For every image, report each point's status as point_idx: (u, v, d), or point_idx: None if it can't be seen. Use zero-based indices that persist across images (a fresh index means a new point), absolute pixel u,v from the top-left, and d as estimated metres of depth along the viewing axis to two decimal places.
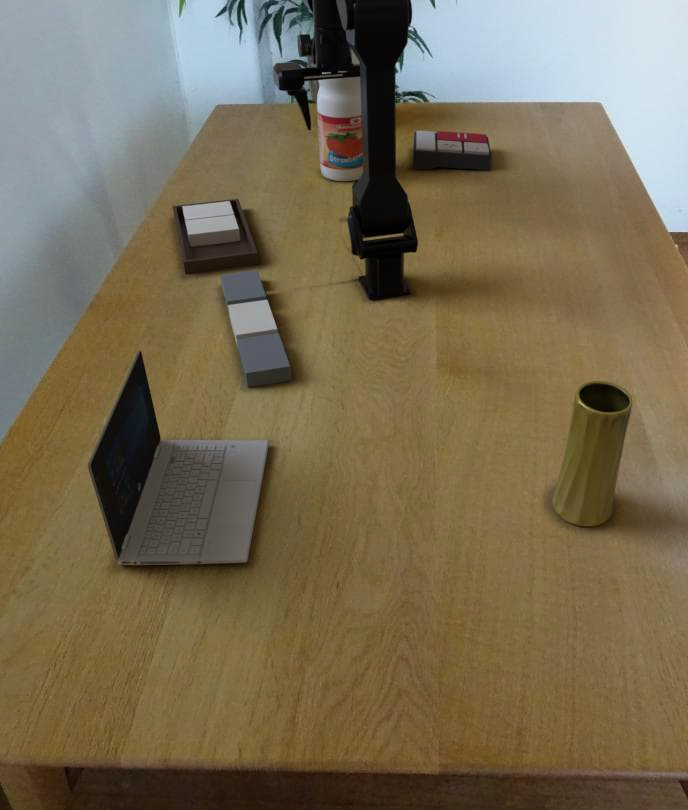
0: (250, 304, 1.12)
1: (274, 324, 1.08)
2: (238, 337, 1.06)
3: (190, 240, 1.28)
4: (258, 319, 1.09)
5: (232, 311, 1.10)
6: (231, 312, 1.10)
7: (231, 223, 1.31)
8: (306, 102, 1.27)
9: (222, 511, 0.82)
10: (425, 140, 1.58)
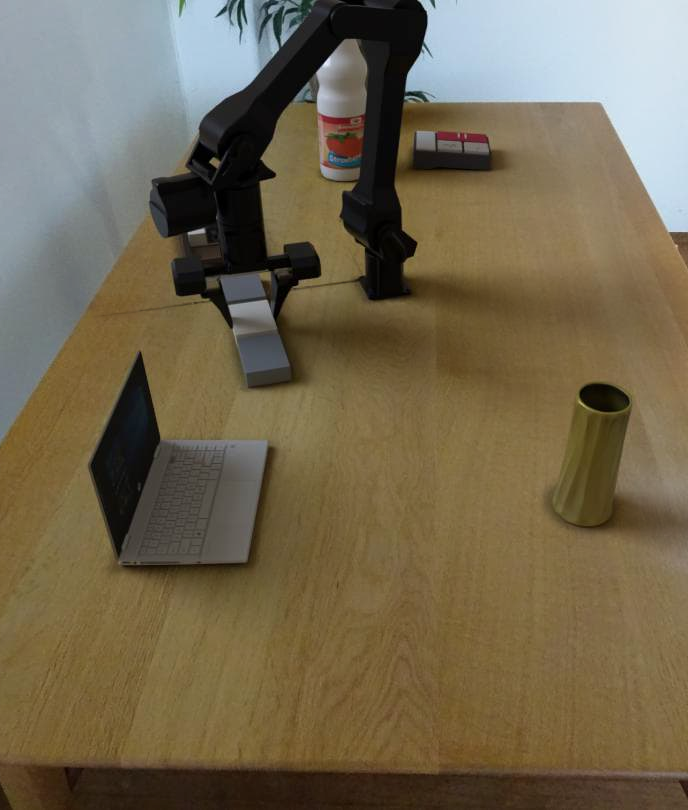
0: (250, 304, 1.12)
1: (274, 324, 1.08)
2: (238, 337, 1.06)
3: (190, 240, 1.28)
4: (258, 319, 1.09)
5: (232, 311, 1.10)
6: (231, 312, 1.10)
7: None
8: (224, 303, 1.04)
9: (222, 511, 0.82)
10: (425, 140, 1.59)
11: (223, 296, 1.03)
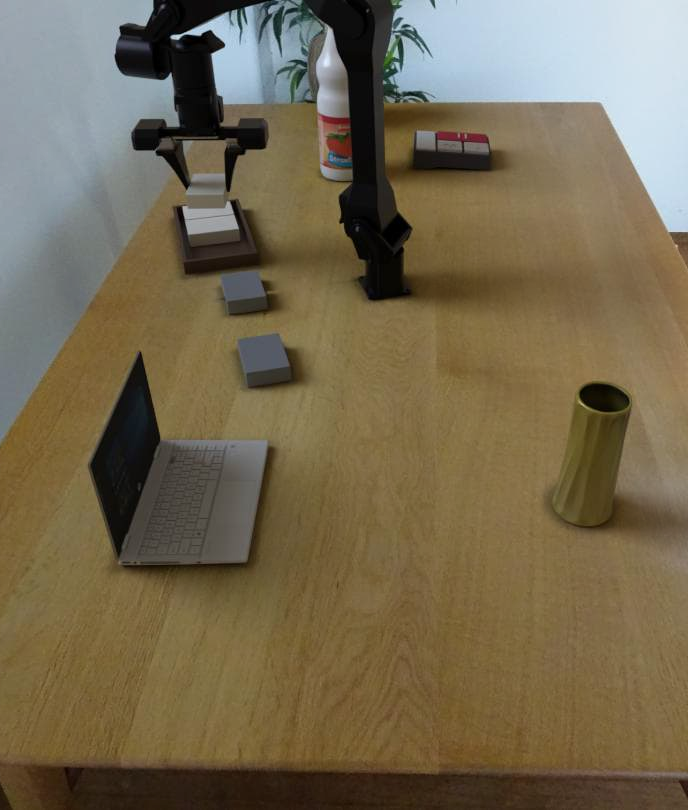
0: (213, 175, 1.23)
1: (223, 191, 1.18)
2: (187, 197, 1.17)
3: (190, 240, 1.28)
4: (211, 186, 1.19)
5: (194, 178, 1.22)
6: (193, 179, 1.21)
7: (231, 223, 1.31)
8: (177, 164, 1.16)
9: (222, 511, 0.82)
10: (425, 140, 1.59)
11: (175, 156, 1.14)
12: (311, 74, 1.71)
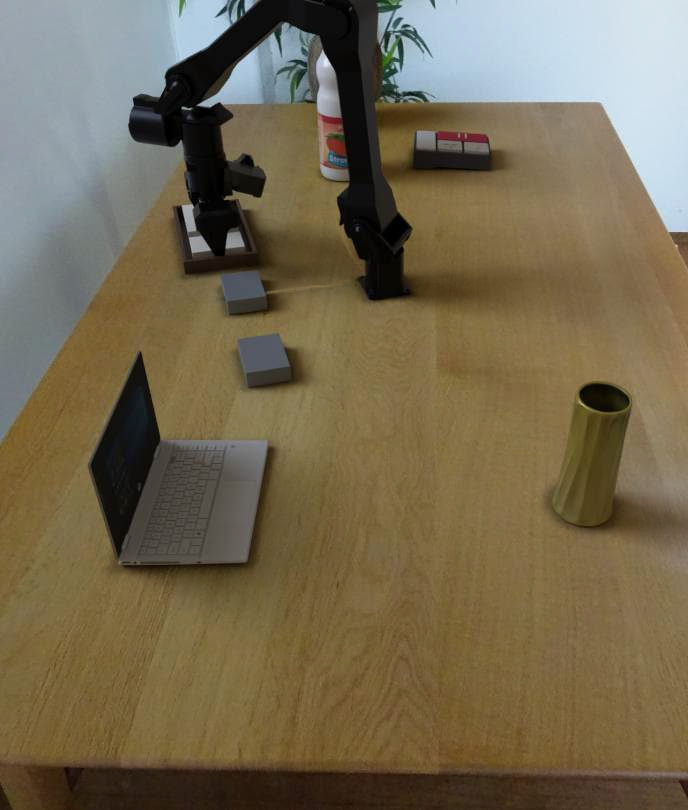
0: (238, 240, 1.26)
1: (200, 251, 1.23)
2: (189, 240, 1.27)
3: (189, 237, 1.29)
4: None
5: (228, 233, 1.28)
6: None
7: None
8: None
9: (222, 511, 0.82)
10: (425, 140, 1.59)
11: (190, 200, 1.25)
12: (311, 74, 1.71)
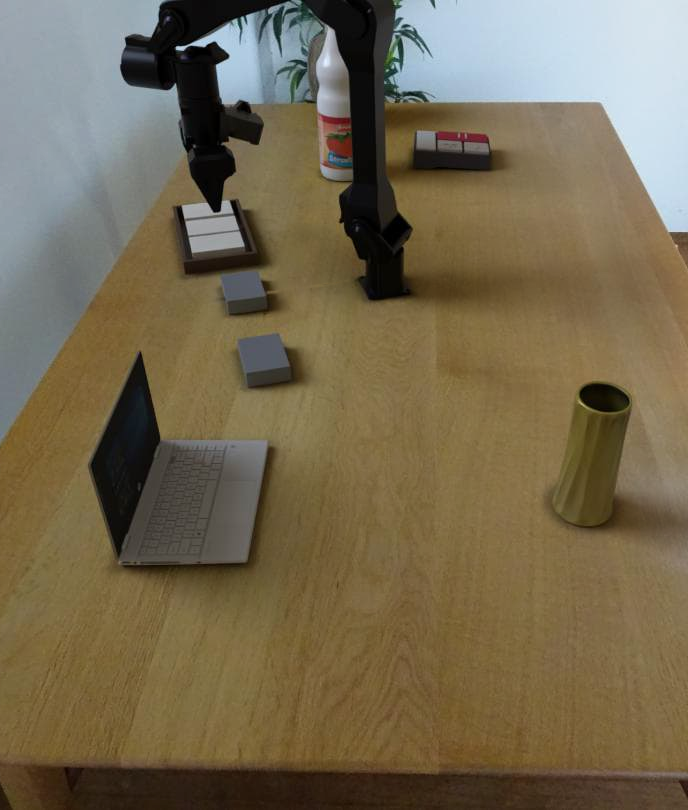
0: (238, 240, 1.26)
1: (200, 251, 1.23)
2: (189, 240, 1.27)
3: None
4: (211, 244, 1.25)
5: (228, 233, 1.28)
6: (226, 233, 1.28)
7: (232, 224, 1.31)
8: None
9: (222, 511, 0.82)
10: (425, 140, 1.59)
11: (184, 147, 1.21)
12: (311, 74, 1.71)
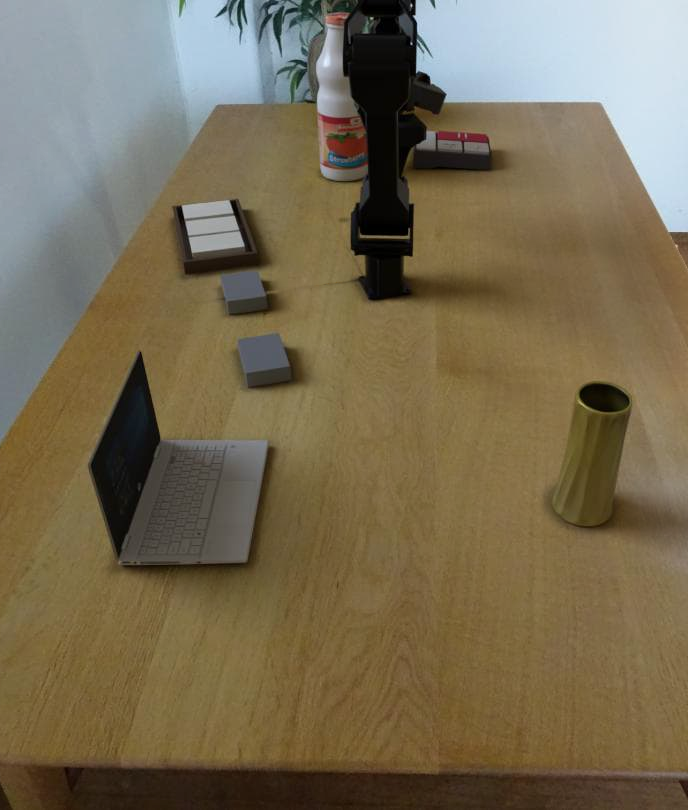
0: (238, 240, 1.26)
1: (200, 251, 1.23)
2: (189, 240, 1.27)
3: None
4: (211, 244, 1.25)
5: (228, 233, 1.28)
6: (226, 233, 1.28)
7: (232, 224, 1.31)
8: (364, 126, 1.26)
9: (222, 511, 0.82)
10: (425, 140, 1.59)
11: (361, 118, 1.25)
12: (311, 74, 1.71)
